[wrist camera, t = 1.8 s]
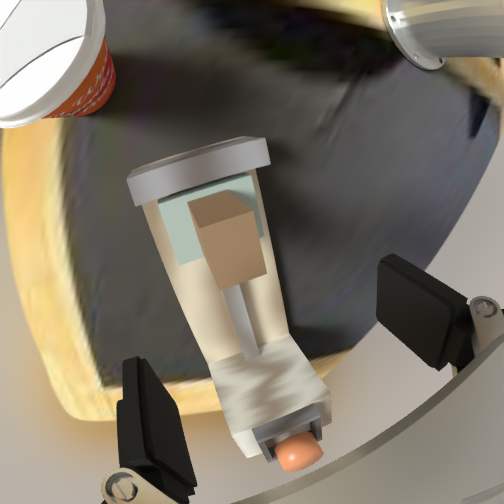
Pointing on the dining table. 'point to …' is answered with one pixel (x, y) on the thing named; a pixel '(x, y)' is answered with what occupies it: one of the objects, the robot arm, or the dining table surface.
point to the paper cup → (52, 60)
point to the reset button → (298, 451)
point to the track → (209, 294)
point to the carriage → (217, 228)
